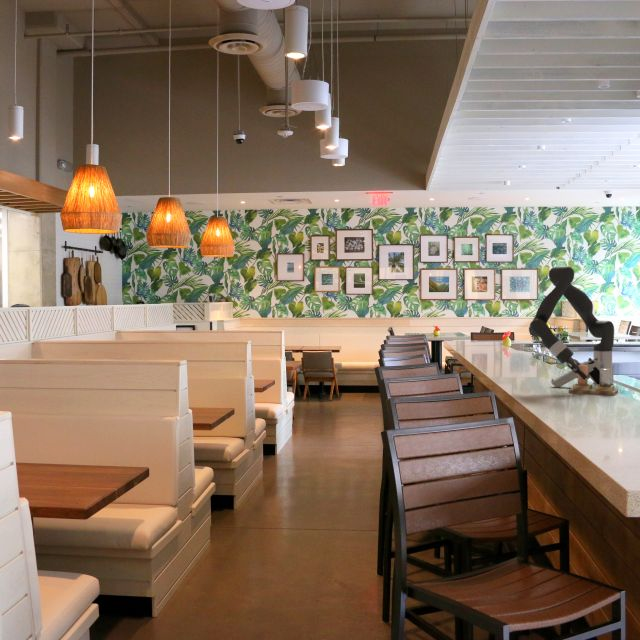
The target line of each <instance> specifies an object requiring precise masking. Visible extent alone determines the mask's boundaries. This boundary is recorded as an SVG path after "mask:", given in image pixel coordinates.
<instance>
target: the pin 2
mask: <svg viewBox="0 0 640 640" xmlns="http://www.w3.org/2000/svg"><path fill="white" fill-rule="evenodd" d="M610 385H611V384H610V369H600V387H610Z"/></svg>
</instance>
